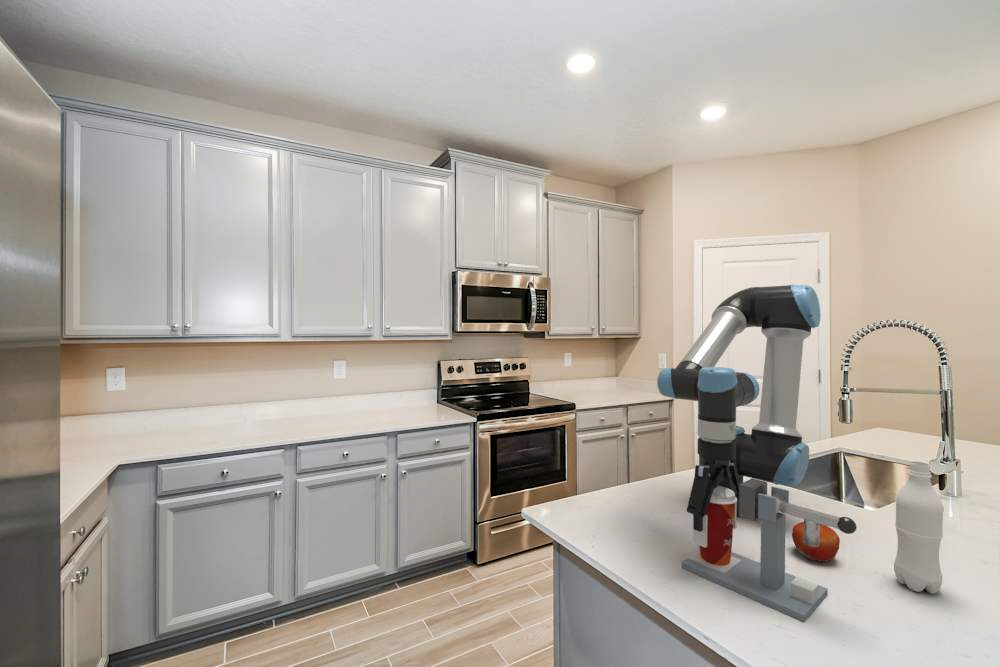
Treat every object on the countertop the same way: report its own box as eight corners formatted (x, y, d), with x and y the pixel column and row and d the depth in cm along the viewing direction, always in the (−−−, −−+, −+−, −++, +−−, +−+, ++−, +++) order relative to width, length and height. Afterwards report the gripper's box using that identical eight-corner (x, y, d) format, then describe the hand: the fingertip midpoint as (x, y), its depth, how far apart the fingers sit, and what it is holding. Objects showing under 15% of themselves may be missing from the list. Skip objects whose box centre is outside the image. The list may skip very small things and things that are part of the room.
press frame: (681, 567, 98) (683, 478, 98) (710, 549, 106) (711, 466, 106) (804, 622, 80) (806, 512, 80) (827, 594, 88) (829, 495, 88)
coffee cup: (741, 570, 94) (742, 499, 94) (699, 565, 96) (700, 495, 95) (729, 550, 102) (730, 484, 102) (690, 546, 104) (691, 482, 104)
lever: (738, 526, 92) (739, 484, 92) (751, 518, 96) (751, 478, 96) (850, 564, 78) (851, 514, 78) (860, 553, 81) (861, 505, 81)
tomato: (826, 571, 97) (826, 534, 97) (782, 551, 105) (783, 517, 105) (849, 560, 101) (849, 525, 101) (805, 543, 109) (806, 510, 109)
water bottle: (884, 577, 94) (886, 458, 94) (915, 575, 95) (918, 457, 95) (918, 598, 87) (921, 469, 87) (952, 596, 88) (955, 468, 87)
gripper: (705, 453, 88) (704, 561, 88) (758, 433, 103) (757, 524, 104) (669, 444, 93) (668, 546, 94) (725, 427, 109) (724, 514, 110)
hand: (715, 535), depth 99 cm, fingers open, 13 cm apart
